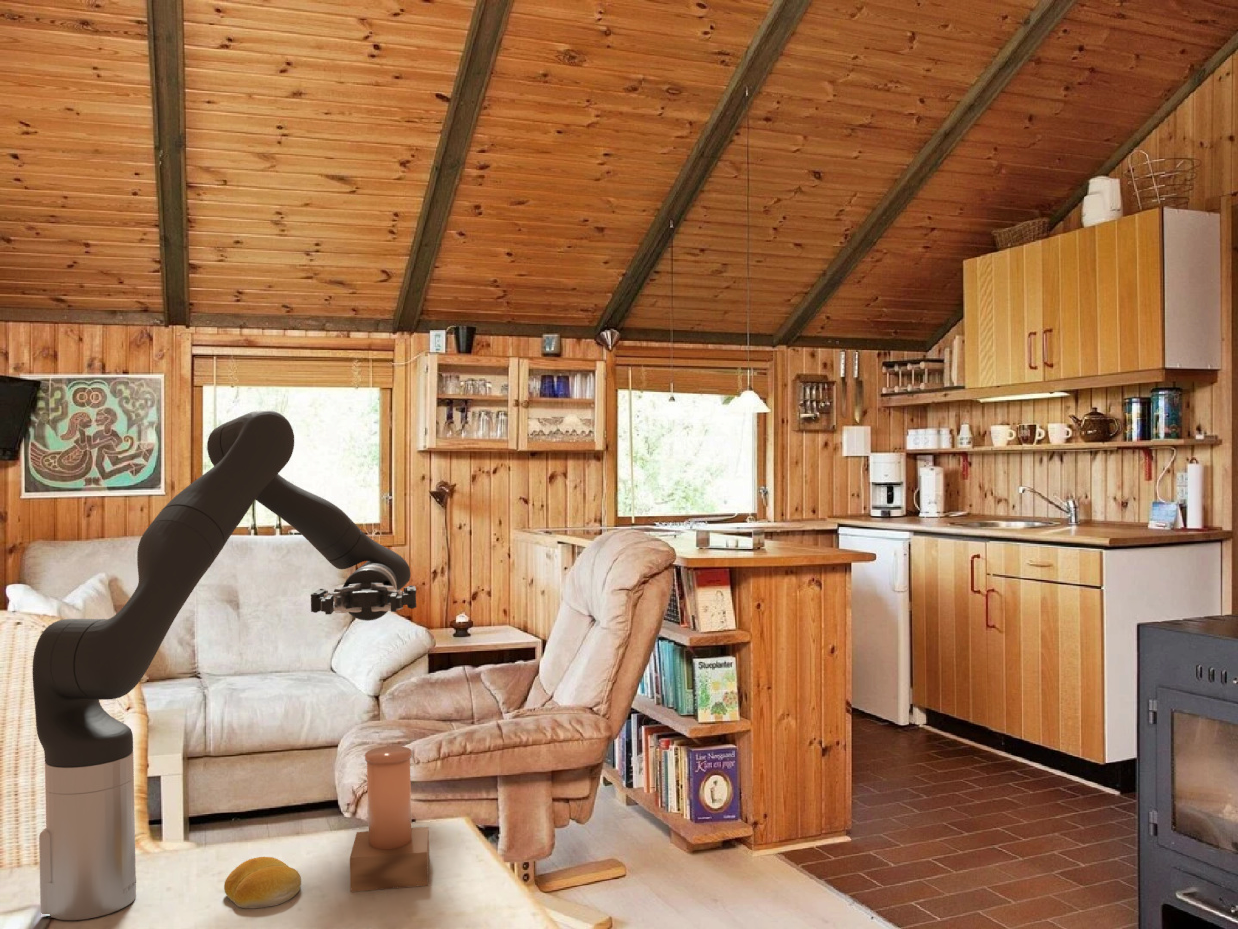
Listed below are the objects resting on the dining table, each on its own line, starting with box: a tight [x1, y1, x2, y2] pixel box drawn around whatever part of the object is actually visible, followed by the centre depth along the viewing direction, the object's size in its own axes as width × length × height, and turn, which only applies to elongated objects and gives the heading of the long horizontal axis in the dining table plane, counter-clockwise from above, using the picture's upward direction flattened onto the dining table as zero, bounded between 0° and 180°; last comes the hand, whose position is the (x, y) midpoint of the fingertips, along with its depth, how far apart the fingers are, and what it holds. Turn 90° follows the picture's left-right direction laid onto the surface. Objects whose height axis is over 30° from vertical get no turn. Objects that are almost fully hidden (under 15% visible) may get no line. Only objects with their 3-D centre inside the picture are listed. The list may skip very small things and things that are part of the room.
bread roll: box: [223, 856, 302, 909], centre depth 124 cm, size 8×9×4 cm
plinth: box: [349, 826, 430, 893], centre depth 129 cm, size 9×9×4 cm
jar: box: [364, 745, 413, 849], centre depth 129 cm, size 6×6×11 cm
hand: (360, 605), depth 139 cm, fingers open, 8 cm apart
